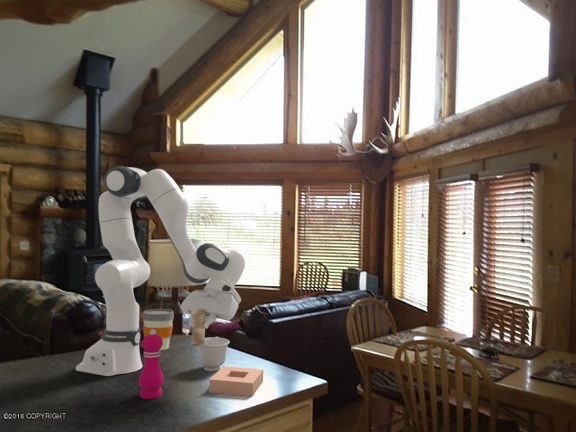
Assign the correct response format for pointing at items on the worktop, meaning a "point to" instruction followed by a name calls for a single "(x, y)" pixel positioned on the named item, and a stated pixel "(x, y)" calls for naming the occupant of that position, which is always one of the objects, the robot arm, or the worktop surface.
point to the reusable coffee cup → (159, 324)
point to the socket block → (236, 381)
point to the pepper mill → (151, 367)
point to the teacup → (213, 353)
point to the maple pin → (198, 327)
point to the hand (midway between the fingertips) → (197, 326)
